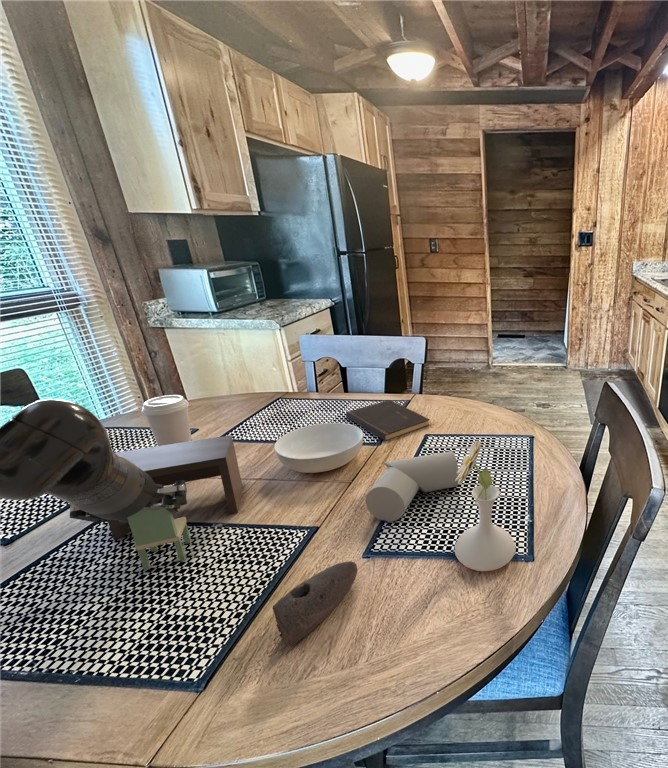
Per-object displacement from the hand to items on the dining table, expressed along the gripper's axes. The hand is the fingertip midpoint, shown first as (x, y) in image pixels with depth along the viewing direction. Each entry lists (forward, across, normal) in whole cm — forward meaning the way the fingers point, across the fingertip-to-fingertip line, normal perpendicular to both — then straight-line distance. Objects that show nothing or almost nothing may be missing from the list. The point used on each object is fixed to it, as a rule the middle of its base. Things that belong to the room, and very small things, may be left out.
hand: (153, 511), depth 72 cm
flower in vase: (-9, +52, -24) cm, 58 cm away
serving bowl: (+26, +28, +11) cm, 39 cm away
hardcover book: (+39, +48, +24) cm, 66 cm away
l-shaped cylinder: (+8, +46, -7) cm, 47 cm away
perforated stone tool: (-10, +24, -25) cm, 36 cm away
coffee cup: (+40, -7, +26) cm, 48 cm away
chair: (+8, 0, -7) cm, 10 cm away
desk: (+18, 0, +4) cm, 18 cm away
